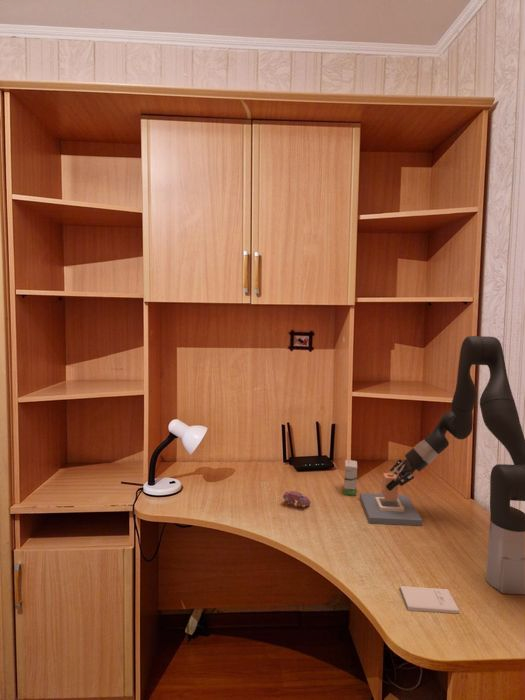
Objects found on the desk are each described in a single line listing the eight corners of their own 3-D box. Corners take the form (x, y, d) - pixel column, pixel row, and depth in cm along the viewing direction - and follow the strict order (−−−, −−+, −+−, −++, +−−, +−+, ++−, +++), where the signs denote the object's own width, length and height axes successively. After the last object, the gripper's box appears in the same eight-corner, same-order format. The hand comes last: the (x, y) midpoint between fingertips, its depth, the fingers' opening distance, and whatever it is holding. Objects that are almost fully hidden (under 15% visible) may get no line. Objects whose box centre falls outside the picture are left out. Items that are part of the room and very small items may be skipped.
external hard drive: (399, 590, 114) (447, 593, 113) (407, 612, 106) (459, 615, 105) (399, 585, 114) (447, 588, 113) (407, 606, 106) (459, 609, 105)
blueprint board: (422, 525, 148) (422, 516, 147) (369, 523, 149) (369, 514, 148) (406, 500, 167) (406, 492, 167) (359, 497, 169) (360, 490, 168)
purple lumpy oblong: (283, 506, 163) (280, 494, 160) (288, 497, 167) (285, 485, 163) (307, 513, 159) (305, 500, 155) (312, 503, 162) (309, 490, 159)
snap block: (397, 499, 155) (398, 476, 154) (384, 499, 156) (385, 475, 155) (394, 494, 160) (395, 471, 159) (382, 493, 160) (383, 471, 159)
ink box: (356, 496, 170) (357, 467, 169) (343, 495, 171) (344, 466, 170) (356, 487, 178) (357, 459, 177) (344, 486, 179) (345, 458, 178)
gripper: (408, 441, 162) (375, 471, 164) (420, 454, 148) (383, 486, 150) (422, 455, 163) (388, 485, 165) (435, 470, 148) (398, 501, 150)
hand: (386, 485), depth 157 cm, fingers closed on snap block, 4 cm apart
